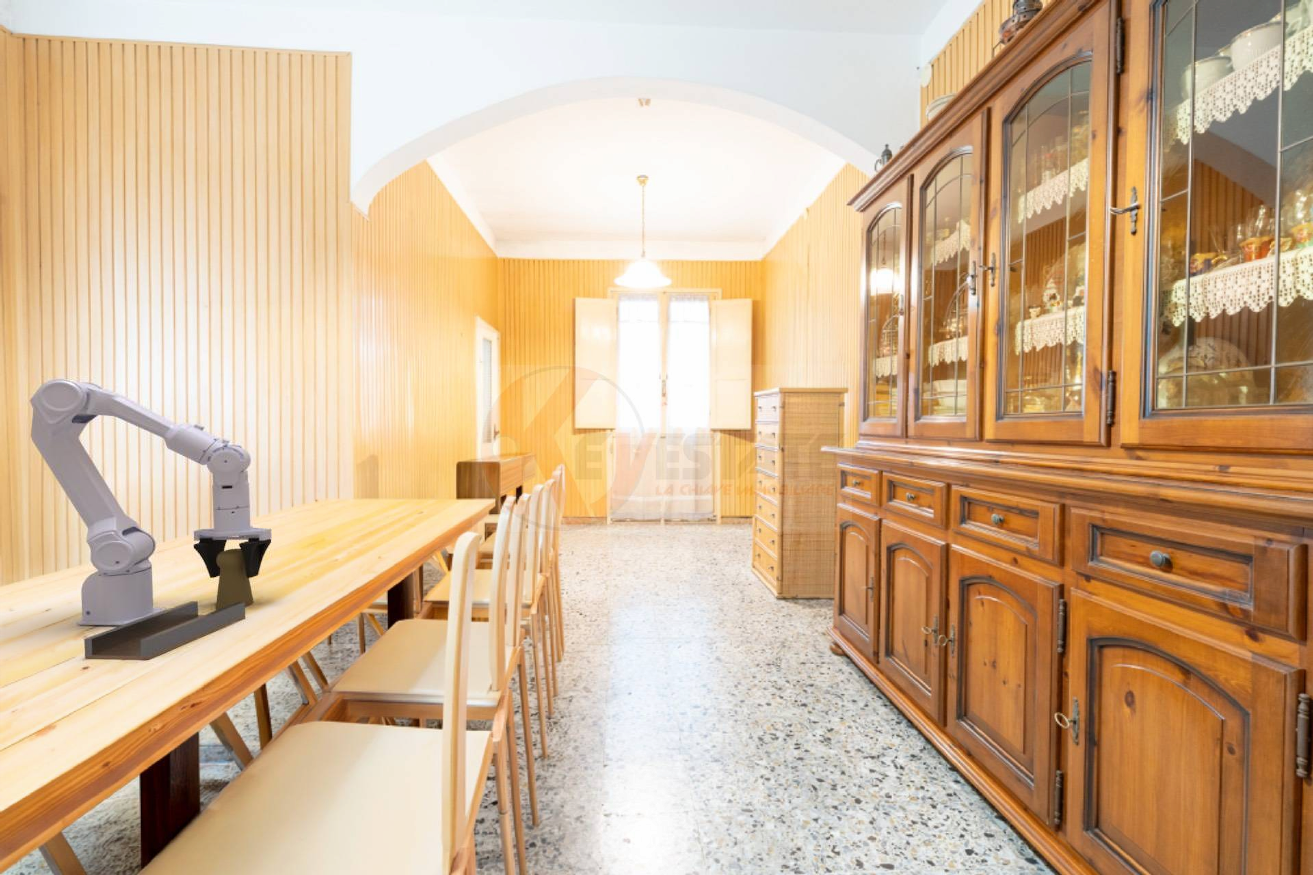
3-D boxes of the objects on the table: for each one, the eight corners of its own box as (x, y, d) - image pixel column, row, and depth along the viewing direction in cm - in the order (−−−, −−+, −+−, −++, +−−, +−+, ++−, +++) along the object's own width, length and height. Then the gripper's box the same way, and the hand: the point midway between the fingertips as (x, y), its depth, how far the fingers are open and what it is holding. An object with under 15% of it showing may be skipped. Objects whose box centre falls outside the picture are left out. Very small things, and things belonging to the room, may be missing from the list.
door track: (85, 658, 85) (84, 638, 85) (192, 617, 103) (191, 601, 103) (148, 659, 84) (147, 639, 84) (245, 618, 102) (244, 601, 102)
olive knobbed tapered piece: (233, 611, 106) (231, 553, 106) (207, 609, 107) (205, 552, 107) (261, 601, 112) (259, 546, 112) (236, 599, 113) (234, 545, 113)
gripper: (282, 504, 113) (284, 571, 113) (214, 504, 114) (217, 570, 114) (254, 509, 106) (256, 580, 106) (182, 510, 107) (185, 580, 107)
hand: (234, 576), depth 110 cm, fingers open, 7 cm apart
